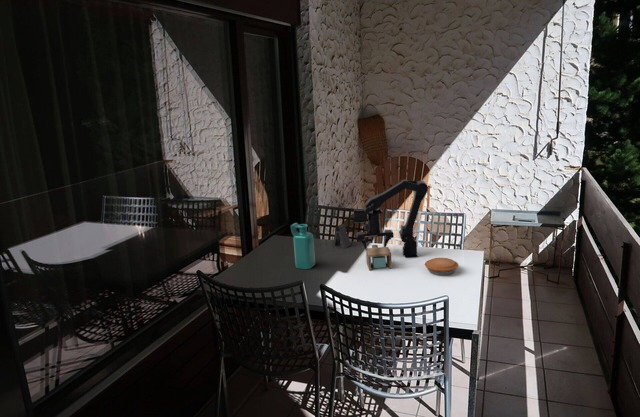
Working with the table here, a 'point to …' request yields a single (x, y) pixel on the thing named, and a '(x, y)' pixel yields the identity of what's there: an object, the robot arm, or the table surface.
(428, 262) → the pie
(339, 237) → the phone stand
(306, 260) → the teal bottle
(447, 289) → the table surface
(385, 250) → the walnut shelf
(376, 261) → the tethered block
